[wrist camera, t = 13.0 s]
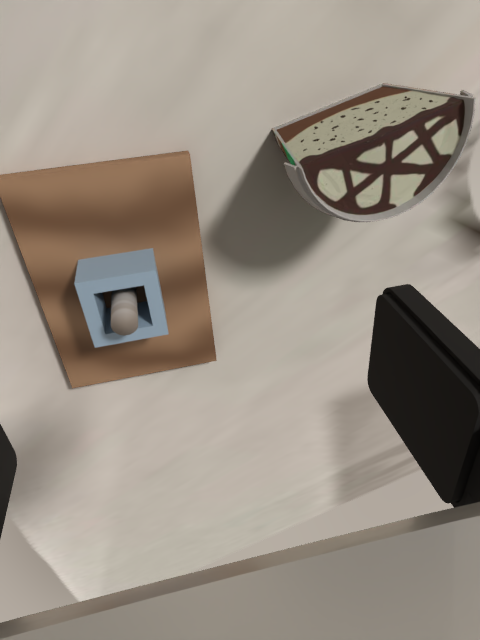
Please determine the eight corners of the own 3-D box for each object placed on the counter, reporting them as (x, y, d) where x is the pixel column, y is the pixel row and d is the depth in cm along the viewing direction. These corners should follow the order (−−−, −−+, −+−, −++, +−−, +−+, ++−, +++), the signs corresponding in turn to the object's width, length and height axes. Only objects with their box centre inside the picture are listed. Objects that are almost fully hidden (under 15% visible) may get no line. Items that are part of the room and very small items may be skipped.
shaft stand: (-3, 175, 34) (-29, 209, 28) (188, 150, 35) (201, 178, 30) (73, 380, 45) (66, 435, 39) (214, 353, 47) (227, 402, 41)
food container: (274, 206, 39) (315, 257, 31) (253, 135, 36) (293, 172, 28) (408, 152, 39) (483, 188, 31) (401, 75, 36) (483, 94, 28)
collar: (78, 259, 37) (74, 283, 34) (152, 248, 38) (155, 270, 35) (96, 320, 40) (94, 347, 37) (164, 308, 41) (168, 334, 38)
